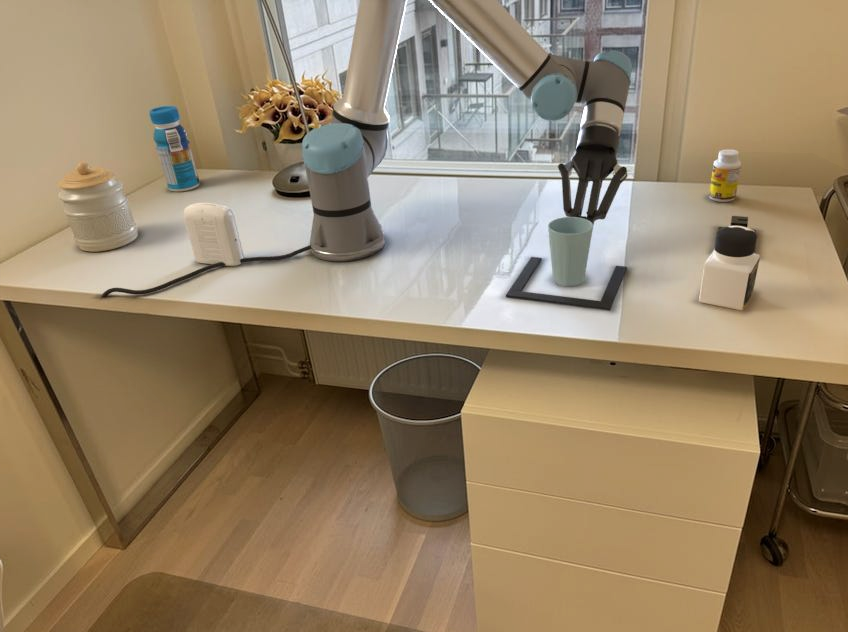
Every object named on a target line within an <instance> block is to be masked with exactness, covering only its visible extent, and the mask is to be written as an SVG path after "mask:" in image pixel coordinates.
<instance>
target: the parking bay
mask: <svg viewBox="0 0 848 632" xmlns="http://www.w3.org/2000/svg"><path fill="white" fill-rule="evenodd" d="M541 261H542V257H538V256H537V257H536V256H531V257H530V258H529V260H528V262H527V263H526V264H525V266H524V267H523V268H522V270H521V272H520V274H519V275H518V276H517V278H516V279H515V280H514V282H513V284H512V285H511V287H510V288H509V290H508V291H507V293H506V294H505V298H507V299H508V298H509V299H516V300H524V301H533V302H539V303H547V304H554V305H555V304H556V305H563V306H572V307H578V308H579V307H580V308H585V309H586V308H587V309H588V308H589V309H593V310H594V309H595V310H601V311H611V309H612V307H613V304H614V302H615V299H616V297H617V294H618V292H619V289H620V287H621V285H622V282H623V281H624V277H625V275H626V272H627V269H628V267H627V266H623V265H622V266H621V265H615V267H614V269H613V272H612V274H611V276H610V278H609V281H608V283H607V285H606V287H605V289H604V292H603V295H602V297H601V298H600V300H595V299H586V298H578V297H572V296H563V295H562V296H561V295H554V294H546V293H538V292H529V291H523V290H524V288H525V287H526V285H527V284H528V282H529V281H530V279H531V277H532V276H533V274H534V273H535V271H536V269H537V268H538V267H539V265H540V264H541Z"/></svg>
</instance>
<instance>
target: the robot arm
mask: <svg viewBox="0 0 848 632" xmlns="http://www.w3.org/2000/svg"><path fill="white" fill-rule="evenodd" d="M428 1H429V2H430V3H431V4H432V5H433V6H434V7H435V8H436V9H437V10H438V11H439V12H440V13H441V14H442V15H443V16H444V17H445V18H446V19H447V20H448V21H449V22H450V23H451V24H452V25H454V27H455V28H456V29H457V30H458V31H460V33H461V34H462V35H463V36H464V37H465V38H467V40H468V41H470V42H471V43H472V45H474V46H475V47H476V48H477V50H479V52H481V54H483V56H485V58H487V59H488V61H490V62H491V64H493V66H495V67H496V68H497V69H498V70H499V71H500V72H501V73H502V74H503V75H504V76H505V77H506V78H507V80H509V81H510V82H511V83H512V84H513V85H514V87H516V88H517V89H518V90H519V91H520V92H521V93H522V95H524V96H525V97H526V99H528V100H529V101H530V104H531V107H532V108H533V111H534V113H535V114H536V115H537V116H538V117H539V118H540V119H542V120H545V121H547V122H549V121H550V122H554V121H555V122H556V121H559V120H562V119H563V118H564V119H565V118H566V117H567V116H568V115H569V114H570V113H571V111H572V110H573V108H574V105H575V104H583V105H584V107H583V113H582V117H581V122H580V127H579V133H578V136H577V141H576V142H577V143H576V147H575V151H574V154H573V156H572V157H571V158H570V161H568V162H566V163H565V164H564V163H559V164H558V165H557V168H558V171H559V174H560V176H561V187H562V188H561V189H562V207H563V208H562V209H563V212H564V215H565V217H578V218H583V219H587V220H589V221H590V222H592V224H593V226H594V224H595V222H596V221H597V220H605V218H606V217H607V215H608V213H609V211H610V208H611V206H612V204H613V201H614V200H615V197H616V195H617V193H618V190H619V188H620V186H621V185H622V183H623V182H624V181H625V180H626V179H627V178H628V169H627V167H626V166H621V165H620V164H619V163H618V159H617V154H618V150H619V149H618V148H619V143H620V135H621V133H622V128H623V121H624V115H625V111H626V106H627V102H628V101H627V100H628V96H629V91H630V86H631V83H632V82H631V77H632V69H633V64H632V61H631V58H630V57H629V56H628V55H627V54H625V53H624V52H621V51H619V50H613V49H612V50H611V49H610V51H607V50H604V51H601V52H599V53H597V55H595V57H594V59H593V61H592V60H588V61H587V60H583V59H577V58H572V57H567V56H562V55H557V54H553V53H551V52H548V51H546V49H544V47H543V46H542V45H541V44H540V43H539V42H538V41H537V40H536V39H535V38H534V37H533V36H532V35H531V34H530V33H529V32H528V31H527V29H525V28H524V27H523V25H521V24H520V22H518V21H517V20H516V19H515V18H514V17H513V15H512V14H510V13H509V12H508V10H507V9H506V8H505V7H504V6H503V5H502V4H501V3H500V1H498V0H428ZM358 2H359V3H358V8H357V14H356V20H355V25H354V31H353V37H352V43H351V48H350V52H349V53H350V54H349V60H348V64H347V65H348V66H347V71H346V77H345V82H344V89H343V94H342V97H341V98H340V99H338V100H337V101H335V102H334V103H333V107H332V113H331V119H330V123H329V124H324V125H320V126H319V127H317V128H316V127H315V128H313V129H311V130H310V131H308V132H307V133H306V134H305V135H304V136H303V139H302V141H301V149H302V152H301V153H302V161H303V164H304V169H305V174H306V179H307V184H308V191H309V195H310V202H311V207H312V212H313V218H312V223H311V224H312V225H311V230H310V238H309V245H307V246H304V247H301V248H299V249H297V250H294V251H292V252H290V253H286V254H282V255H273V256H272V255H271V256H252V257H244V258H243V259H241V260H240V262H241V264H242V263H250V262H251V263H252V262H263V261H265V262H266V261H267V262H268V261H281V260H286V259H289V258H293V257H295V256H297V255H299V254H302V253H304V252H308V251H311V254H312V255H313V256H314V257H316V258H317V259H320V260H323V261H327V262H351V261H356V260H360V259H361V260H362V259H365V258H367V257H370V256H373V255H374V254H376V253H378V252H380V251H381V250H382V249H383V248H384V247H385V243H386V239H385V232H384V230H383V228H382V225H381V223H380V222H379V219H378V218H377V215H376V214H375V212H374V209H373V207H372V201H371V192H370V185H369V184H370V183H369V177H370V176H371V174H372V173H373V172H374V170H375V169H376V168H377V167H378V166H379V165H380V164H381V163H382V161H383V159H384V158H385V156H386V153H387V151H388V145H389V135H388V130H389V124H390V115H389V114H388V112H387V110H386V108H385V107H386V102H387V97H388V94H389V89H390V83H391V78H392V74H393V69H394V64H395V61H396V60H395V59H396V56H397V50H398V45H399V40H400V36H401V31H402V26H403V22H404V17H405V12H406V6H407V2H408V0H359V1H358ZM572 170H574V171H575V174H576V175H577V177H578V182H577V188H576V193H575V199H574V203H573V205H572V190H571V188H572V187H571V179H570V176H571V175H572V173H573V172H572ZM611 174H612V178H611V180H610V182H609V184H608V187H607V189H606V191H605V193H604V195H603V197H602V200H601V202H600V204H599V201H600V195H601V190H602V187H603V181H605V179H606V178H608V177H609V176H610V175H611ZM590 182H592V185H591V189H590V194H589V195H590V196H589V199H588V200H589V201H588V206H587V211H586V215H585V216H584V215H582V214H583V209H584V204H585V200H586V194H587V189H588V187H589V183H590ZM598 205H599V207H598ZM572 206H573V208H572ZM225 266H226V265H225V263H223V262H219V263H216V264H208V265H206V266H203V267H201V268H199V269H196V270H194V271H192V272H189V273H187V274H185V275H182V276H179V277H176V278H174V279H172V280H169V281H166V282H164V283H162V284H160V285H157V286H153V287H150V288H146V289H139V290H137V289H130V288H124V287H111V288H109V289H108V288H107V290H105V291H104V292H103V293H102V294H101V296H100V298H101V299H105V298H107V297H108V296H109V295H110V294H112V293H123V294H128V295H136V296H137V295H139V296H140V295H147V294H152V293H155V292H158V291H161V290H164V289H166V288H169V287H171V286H173V285H175V284H178V283H180V282H183V281H185V280H188V279H190V278H193V277H195V276H197V275H199V274H202V273H204V272H207V271H209V270H213V269H216V268H220V267H225Z"/></svg>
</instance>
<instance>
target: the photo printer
mask: <svg viewBox="0 0 848 632" xmlns="http://www.w3.org/2000/svg"><path fill="white" fill-rule="evenodd" d="M183 221H184V224H185V227H186V230H187V236H188V238H189V240H190V246H191V248H192V253H193V256H194V259H195V262H197V263H200V264H206V265H207V264H208V265H212V264H216V263H219V262H223V263H225V265H224V266H228V267H235V266H236V267H237V266H239V265H241V264H242V263H241V262H240V260H241V259H243V258H245V257H244V251H243V247H242V242H241V239H240V233H239V229H238V226H237V225H238V224H237V220H236V217H235V214H234V211H233V210H232V209H231V208H229V207H227V206H224V205H222V204H219V203H214V202H196V203H192V204H189V205H188V206H186V207H185V208H184V209H183Z"/></svg>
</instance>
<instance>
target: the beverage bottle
mask: <svg viewBox="0 0 848 632" xmlns="http://www.w3.org/2000/svg"><path fill="white" fill-rule="evenodd" d="M148 113H149V118H150V120H151V123H152V125H153V126H155V127H154V131H153V141H154V143H155V144H156V145H155V151H156V153H157V155H158V158H159V161H160V165H161V168H162V171H163V174H164V177H165V181H166V185H167V188H168V190H169V191H171V192H175V193H177V192H179V193H180V192H187V191H191V190H194V189H196V188H198V187H199V186H200V184H201V181H200V178H199V175H198V171H197V167H196V164H195V163H196V162H195V160H194V155H193V152H192V145H191V142H190V140H189V139H188V133H187V131H186V129H185V128H184V127H183V125H182V124H180V123H179V122H180V121H181V118H180V114H179V110H178V108H177V106H176V105H175V106H174V105H165V106H164V105H163V106H158V107H153V108H151V109H149V111H148Z"/></svg>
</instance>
